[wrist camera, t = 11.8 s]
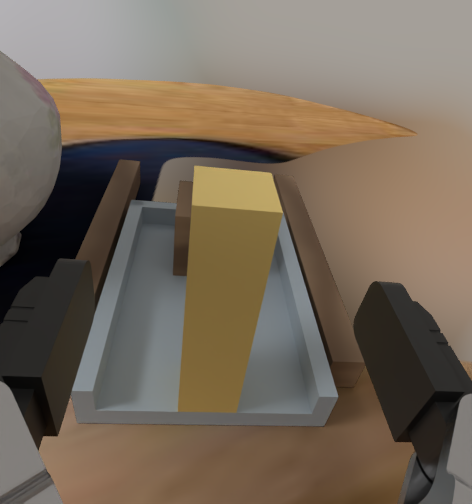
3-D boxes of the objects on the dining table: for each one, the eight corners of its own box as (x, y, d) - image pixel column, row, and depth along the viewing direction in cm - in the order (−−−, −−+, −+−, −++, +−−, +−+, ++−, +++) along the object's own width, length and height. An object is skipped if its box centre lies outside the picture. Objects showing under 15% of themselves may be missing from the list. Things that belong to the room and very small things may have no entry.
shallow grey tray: (77, 423, 20) (26, 191, 12) (132, 227, 34) (126, 64, 26) (323, 426, 21) (424, 224, 13) (277, 238, 36) (312, 87, 28)
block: (172, 275, 28) (175, 215, 25) (177, 235, 32) (179, 180, 29) (241, 279, 28) (251, 222, 25) (237, 240, 32) (246, 186, 29)
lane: (42, 379, 21) (34, 351, 20) (120, 181, 40) (119, 159, 39) (353, 387, 23) (366, 362, 22) (288, 195, 43) (293, 175, 41)
